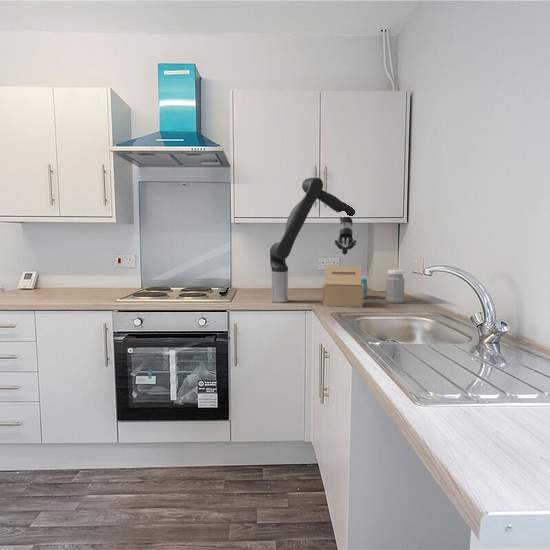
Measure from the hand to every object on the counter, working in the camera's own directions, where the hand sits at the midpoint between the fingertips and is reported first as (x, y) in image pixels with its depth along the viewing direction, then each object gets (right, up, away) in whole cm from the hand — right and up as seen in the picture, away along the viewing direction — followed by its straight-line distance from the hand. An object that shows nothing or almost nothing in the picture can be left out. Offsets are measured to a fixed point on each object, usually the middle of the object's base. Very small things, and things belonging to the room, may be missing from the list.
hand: (344, 253), depth 222 cm
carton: (-2, -28, -8) cm, 29 cm away
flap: (-4, -17, -16) cm, 24 cm away
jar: (+28, -27, -2) cm, 39 cm away
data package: (+11, -26, +17) cm, 33 cm away
